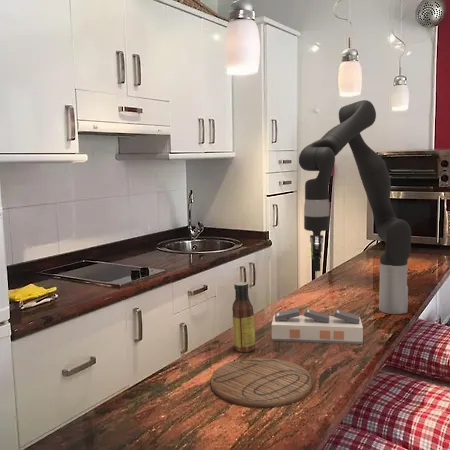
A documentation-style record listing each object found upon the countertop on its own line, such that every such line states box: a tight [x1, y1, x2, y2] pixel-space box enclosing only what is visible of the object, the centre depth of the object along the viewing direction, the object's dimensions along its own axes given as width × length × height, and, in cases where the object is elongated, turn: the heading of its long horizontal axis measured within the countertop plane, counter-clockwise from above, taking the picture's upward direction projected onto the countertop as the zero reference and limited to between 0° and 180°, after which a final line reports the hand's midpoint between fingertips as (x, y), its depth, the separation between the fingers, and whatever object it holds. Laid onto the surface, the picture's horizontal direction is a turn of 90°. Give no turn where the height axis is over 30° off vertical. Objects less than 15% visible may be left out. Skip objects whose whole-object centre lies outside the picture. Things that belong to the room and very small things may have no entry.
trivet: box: [210, 357, 312, 409], centre depth 130 cm, size 25×25×2 cm
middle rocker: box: [303, 308, 330, 323], centre depth 161 cm, size 8×4×2 cm, turn 81°
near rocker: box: [332, 308, 361, 324], centre depth 159 cm, size 8×4×2 cm, turn 81°
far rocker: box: [274, 307, 301, 321], centre depth 162 cm, size 8×4×2 cm, turn 80°
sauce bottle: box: [231, 281, 256, 353], centre depth 151 cm, size 6×6×20 cm
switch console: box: [271, 314, 364, 345], centre depth 161 cm, size 27×10×5 cm, turn 81°
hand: (316, 270), depth 159 cm, fingers closed
